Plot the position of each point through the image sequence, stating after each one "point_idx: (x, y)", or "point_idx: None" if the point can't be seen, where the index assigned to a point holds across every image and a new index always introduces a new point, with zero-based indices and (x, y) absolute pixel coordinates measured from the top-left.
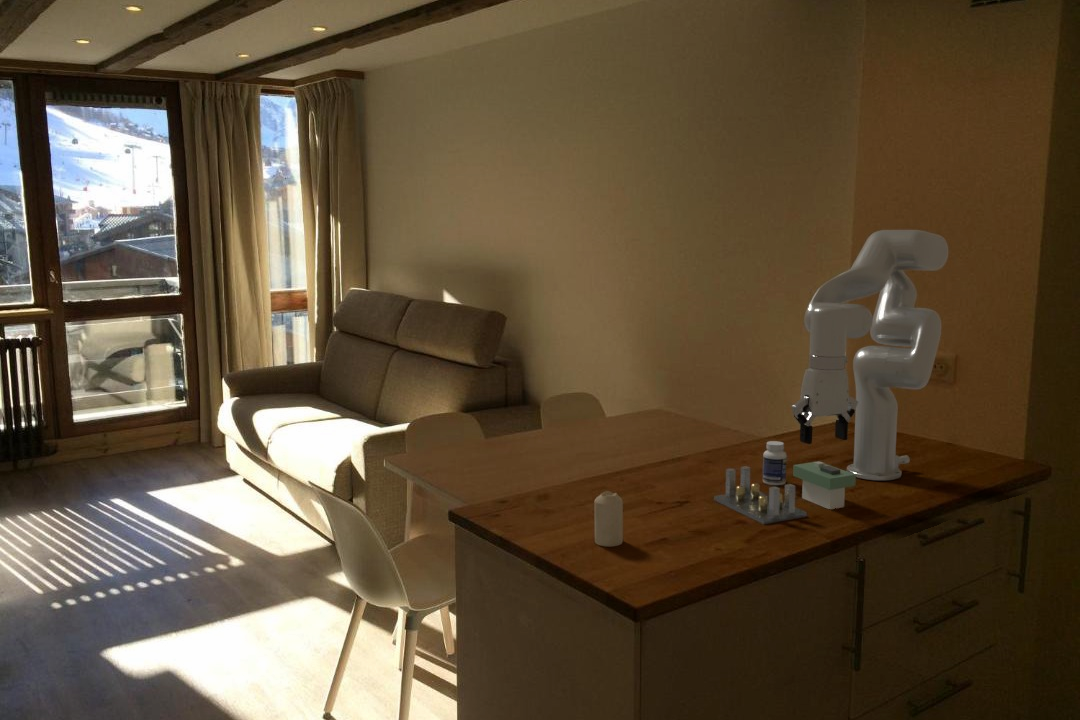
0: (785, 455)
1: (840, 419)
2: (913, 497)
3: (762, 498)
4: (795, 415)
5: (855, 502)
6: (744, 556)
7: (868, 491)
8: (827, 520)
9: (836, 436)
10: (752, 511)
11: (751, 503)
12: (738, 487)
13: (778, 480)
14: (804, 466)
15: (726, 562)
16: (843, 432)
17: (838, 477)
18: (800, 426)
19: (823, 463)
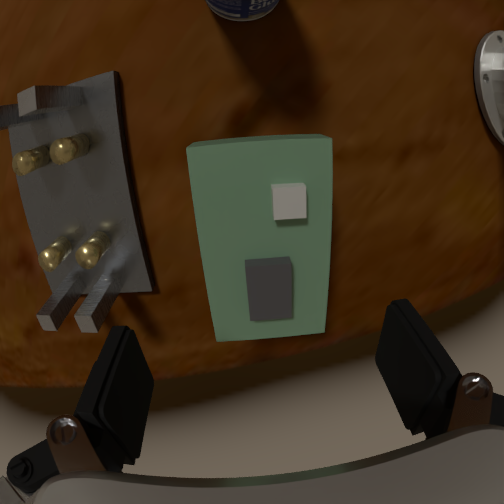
0: None
1: (435, 414)
2: (460, 257)
3: (44, 268)
4: (15, 477)
5: (340, 239)
6: (23, 365)
7: (429, 181)
8: (188, 316)
9: (389, 315)
10: (43, 244)
11: (55, 190)
12: (14, 169)
13: (232, 17)
14: (220, 185)
15: (7, 366)
16: (388, 383)
17: (252, 338)
18: (75, 413)
19: (301, 217)
